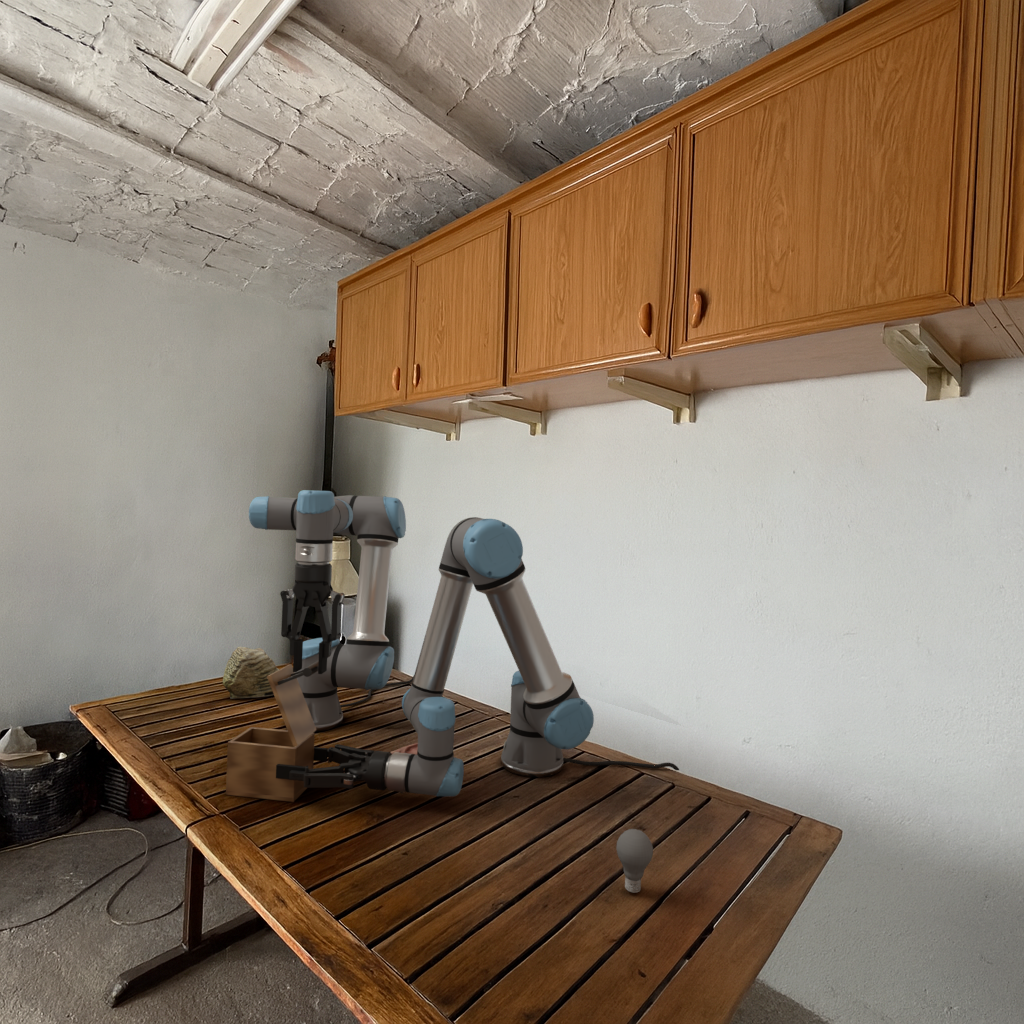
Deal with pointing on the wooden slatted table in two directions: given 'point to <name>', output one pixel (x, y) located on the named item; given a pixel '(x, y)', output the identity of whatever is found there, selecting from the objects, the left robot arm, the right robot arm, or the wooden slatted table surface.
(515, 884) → the wooden slatted table surface
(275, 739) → the chest
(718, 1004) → the wooden slatted table surface
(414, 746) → the anatomical model
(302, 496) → the left robot arm
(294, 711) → the lid
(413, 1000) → the wooden slatted table surface
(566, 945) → the wooden slatted table surface
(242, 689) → the fossil
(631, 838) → the light bulb
